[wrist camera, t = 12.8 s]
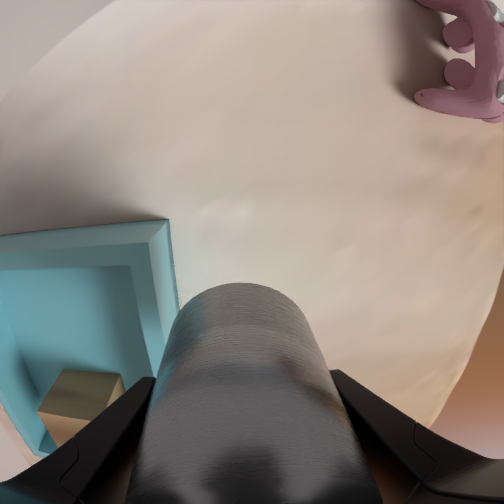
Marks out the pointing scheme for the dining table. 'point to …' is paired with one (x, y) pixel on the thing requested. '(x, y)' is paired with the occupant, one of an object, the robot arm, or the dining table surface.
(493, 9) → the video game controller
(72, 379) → the walnut cube
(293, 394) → the steel cylinder
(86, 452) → the robot arm
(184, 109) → the dining table surface
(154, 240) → the tote
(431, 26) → the dining table surface
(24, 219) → the dining table surface
